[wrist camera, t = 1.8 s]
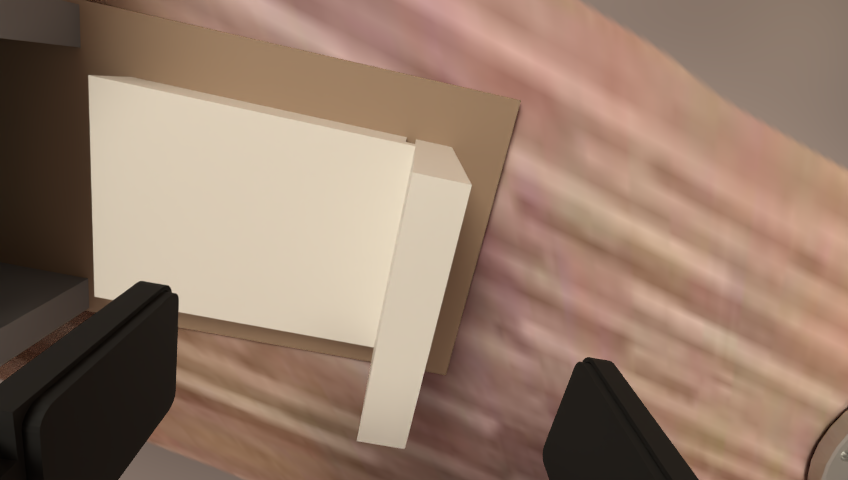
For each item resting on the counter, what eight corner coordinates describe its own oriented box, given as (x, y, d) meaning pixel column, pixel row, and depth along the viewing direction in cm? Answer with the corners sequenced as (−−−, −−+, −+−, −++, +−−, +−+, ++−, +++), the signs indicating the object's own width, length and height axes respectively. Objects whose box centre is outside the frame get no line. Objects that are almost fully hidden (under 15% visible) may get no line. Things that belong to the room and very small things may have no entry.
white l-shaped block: (451, 147, 19) (471, 185, 12) (410, 325, 22) (404, 448, 15) (131, 76, 18) (-75, 68, 11) (131, 273, 21) (-32, 376, 14)
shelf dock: (518, 100, 19) (566, 105, 13) (445, 369, 24) (454, 473, 17) (-114, -46, 17) (-426, -124, 11) (-64, 277, 22) (-265, 356, 15)
